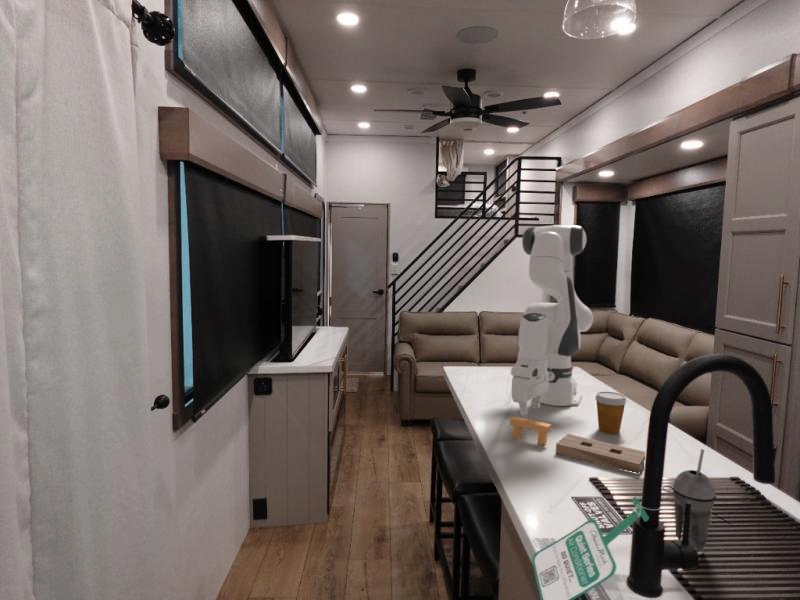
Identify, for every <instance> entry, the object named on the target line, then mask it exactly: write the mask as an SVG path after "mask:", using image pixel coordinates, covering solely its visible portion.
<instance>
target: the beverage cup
mask: <svg viewBox="0 0 800 600" xmlns="http://www.w3.org/2000/svg"><path fill="white" fill-rule="evenodd" d="M704 453H705V449H702V448H701V449H700V454H699V457H698V458H699V459H698V463H697V464H698V465H697V469H696V470H694V469H692V470H691V469H690V470H688V469H687V470H684V471H682V472H680V473H679V474H678V475H677V476H676V478H675V479H674V481H673V484H672V488H671V489H672V490H673V493H672V494H673V499H674V515H675V518H674V519H675V520H674V521H675V537H676V536H677V537H678V539H679V540H680V539H681V533H682V525H683V516H684V505H685V503H686V502H690V503H691V520H690V532H689V543H690V544H691V545H694V546H695V547H696V548H697V550H698V551H700V550H702V549H703V548H704V549H705V546H706V543H707V539H708V531H709V527H710V523H711V521H710V517H711V515H712V513H711V511H712V510H713V508H714V505H715V502H716V499H717V495H716V489H715V485H714V484H713V483H712V480H710V478H709V477H708V476H707V475H706V474H704V473H703V472H701V469H702V464H703V458H704Z"/></svg>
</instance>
